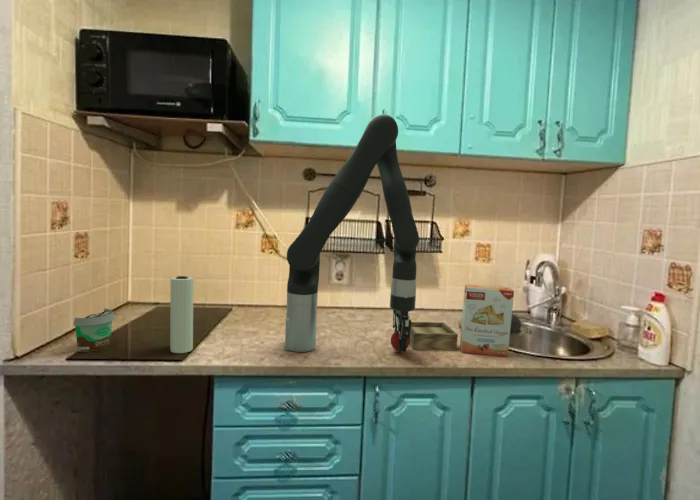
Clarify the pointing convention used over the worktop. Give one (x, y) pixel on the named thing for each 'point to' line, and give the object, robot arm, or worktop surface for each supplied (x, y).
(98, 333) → the food container
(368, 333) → the worktop surface
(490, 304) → the cracker box
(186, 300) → the paper towel roll
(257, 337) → the worktop surface
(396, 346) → the onion
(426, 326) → the tray
